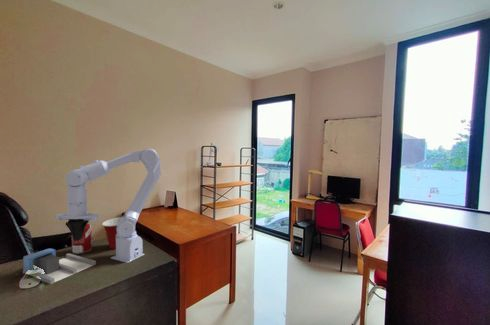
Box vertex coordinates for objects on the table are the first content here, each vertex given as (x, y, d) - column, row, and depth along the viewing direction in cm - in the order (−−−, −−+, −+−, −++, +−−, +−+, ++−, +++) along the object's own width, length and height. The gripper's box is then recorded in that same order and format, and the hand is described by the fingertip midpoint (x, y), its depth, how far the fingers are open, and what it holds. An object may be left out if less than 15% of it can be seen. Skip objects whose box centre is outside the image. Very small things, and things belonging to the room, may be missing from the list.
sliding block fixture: (95, 265, 83) (95, 248, 83) (50, 285, 70) (50, 265, 70) (68, 257, 90) (68, 241, 89) (23, 274, 77) (22, 256, 77)
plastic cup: (99, 247, 100) (99, 220, 99) (126, 240, 107) (125, 215, 107) (106, 255, 92) (105, 225, 92) (134, 247, 100) (134, 220, 99)
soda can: (81, 256, 91) (81, 226, 91) (67, 254, 92) (67, 225, 92) (95, 249, 98) (95, 221, 97) (82, 247, 99) (82, 220, 99)
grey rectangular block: (59, 269, 79) (58, 257, 79) (46, 274, 76) (46, 261, 76) (44, 263, 83) (43, 251, 83) (31, 268, 80) (31, 255, 80)
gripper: (104, 200, 86) (104, 236, 87) (67, 200, 87) (67, 235, 87) (90, 204, 79) (90, 243, 80) (50, 204, 80) (51, 242, 80)
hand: (77, 239), depth 83 cm, fingers closed
